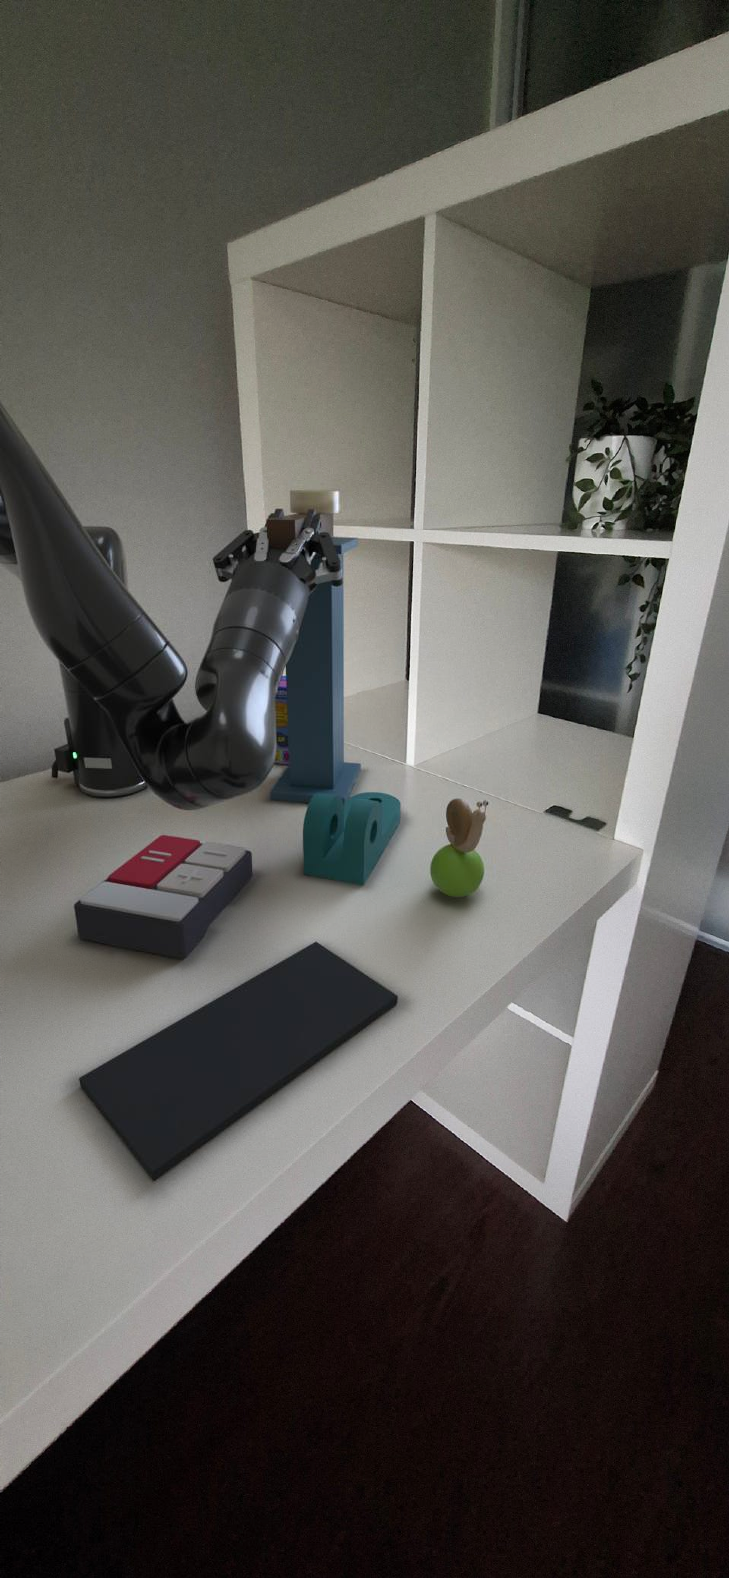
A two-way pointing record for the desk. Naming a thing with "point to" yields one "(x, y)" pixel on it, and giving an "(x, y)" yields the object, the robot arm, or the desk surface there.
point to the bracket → (347, 834)
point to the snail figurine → (460, 851)
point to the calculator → (164, 896)
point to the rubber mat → (232, 1054)
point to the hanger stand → (318, 698)
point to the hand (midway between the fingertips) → (297, 516)
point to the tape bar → (303, 515)
